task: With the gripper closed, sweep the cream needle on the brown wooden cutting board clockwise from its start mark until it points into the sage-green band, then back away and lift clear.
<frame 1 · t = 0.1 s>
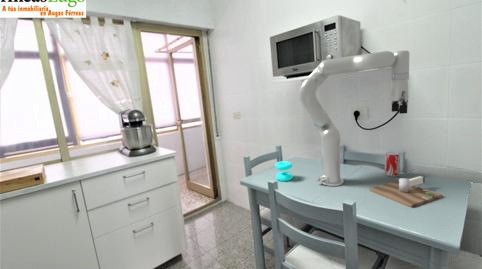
hand: (399, 112, 121), 37 cm above the table, tool pointing down, fingers open, 9 cm apart
brown wooden cutting board: (403, 193, 115), on the table
donuts: (284, 179, 147), on the table
soda can: (392, 175, 138), on the table
dial needle: (412, 182, 116), point 4 cm above the table, hinge at 0.0°
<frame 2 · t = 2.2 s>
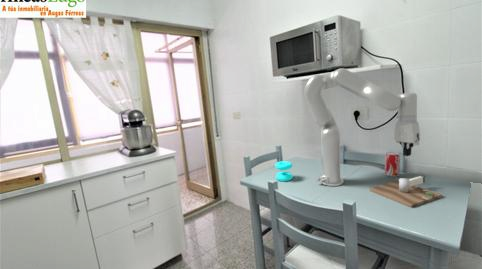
hand: (407, 155, 120), 16 cm above the table, tool pointing down, fingers closed
nothing on the table moved.
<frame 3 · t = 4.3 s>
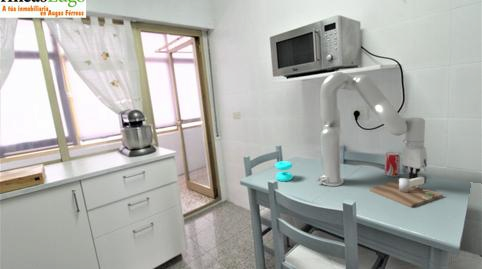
hand: (413, 179, 119), 4 cm above the table, tool pointing down, fingers closed
dial needle: (412, 182, 115), point 4 cm above the table, hinge at -3.0°, touching gripper
everything else where it was.
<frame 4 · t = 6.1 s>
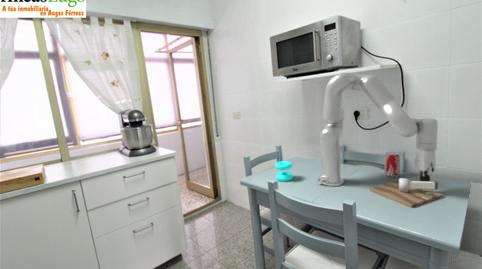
hand: (424, 183, 114), 4 cm above the table, tool pointing down, fingers closed
dial needle: (417, 185, 112), point 4 cm above the table, hinge at -37.8°, touching gripper
everything else where it was.
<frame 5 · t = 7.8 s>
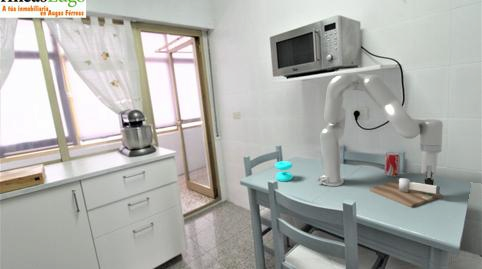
hand: (428, 187, 110), 4 cm above the table, tool pointing down, fingers closed
dial needle: (418, 187, 110), point 4 cm above the table, hinge at -63.4°, touching gripper
everything else where it was.
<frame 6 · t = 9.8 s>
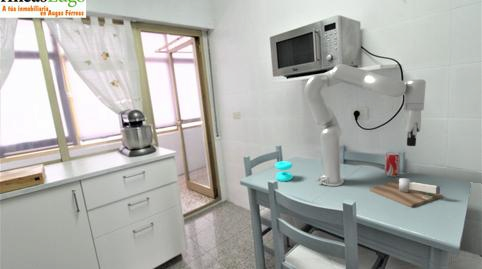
hand: (411, 145, 115), 22 cm above the table, tool pointing down, fingers closed
dial needle: (418, 187, 110), point 4 cm above the table, hinge at -63.5°
everything else where it was.
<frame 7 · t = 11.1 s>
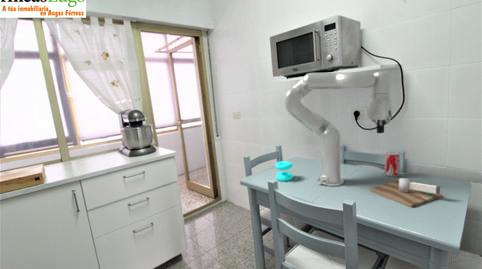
hand: (380, 132, 125), 27 cm above the table, tool pointing down, fingers closed
nothing on the table moved.
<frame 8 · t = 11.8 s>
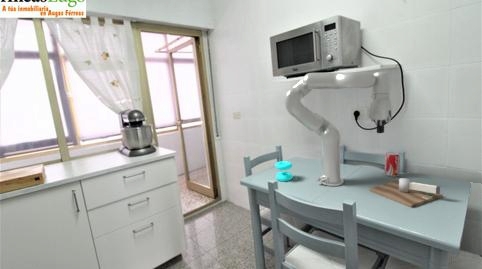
hand: (380, 132, 125), 27 cm above the table, tool pointing down, fingers closed
nothing on the table moved.
at the end: dial needle at -64° (first picture: +0°); soda can moved 0.2 cm from its start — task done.
